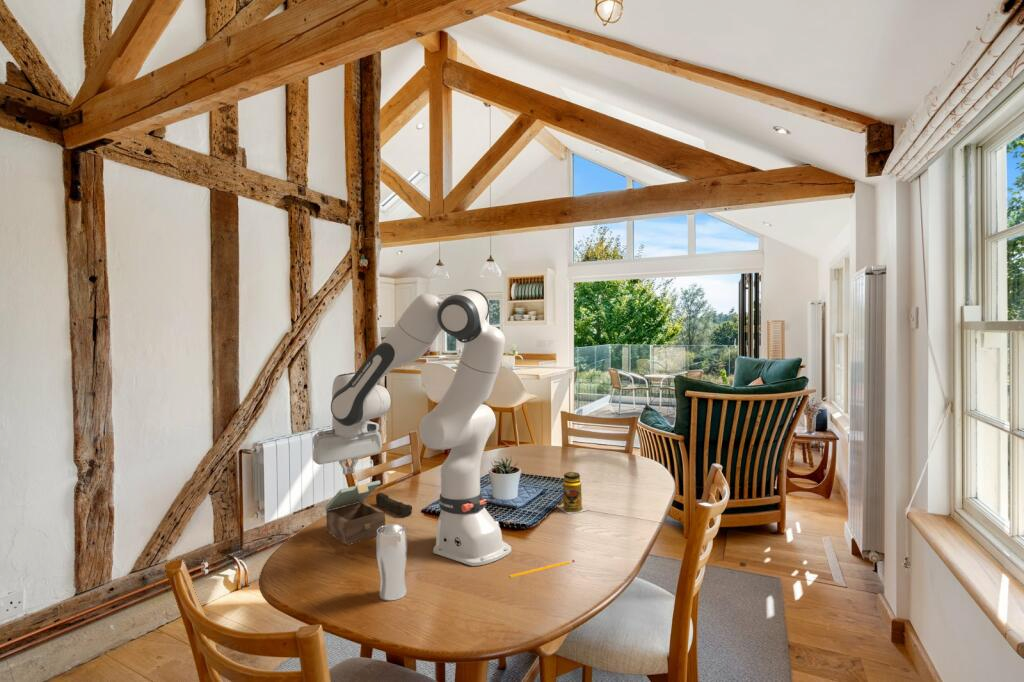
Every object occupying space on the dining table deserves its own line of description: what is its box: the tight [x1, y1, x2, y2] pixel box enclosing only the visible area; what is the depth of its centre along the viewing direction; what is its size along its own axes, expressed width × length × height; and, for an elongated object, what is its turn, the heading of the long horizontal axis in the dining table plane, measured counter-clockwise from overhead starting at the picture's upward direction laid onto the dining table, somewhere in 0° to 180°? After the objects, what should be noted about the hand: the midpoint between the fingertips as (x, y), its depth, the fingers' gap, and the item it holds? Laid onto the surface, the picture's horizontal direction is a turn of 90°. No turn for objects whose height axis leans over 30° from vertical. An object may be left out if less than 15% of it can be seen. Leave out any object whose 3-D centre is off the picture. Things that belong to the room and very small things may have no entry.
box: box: [325, 500, 386, 546], centre depth 151 cm, size 15×12×6 cm
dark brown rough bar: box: [375, 492, 413, 518], centre depth 171 cm, size 19×4×5 cm, turn 44°
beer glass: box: [375, 523, 408, 602], centre depth 115 cm, size 7×7×15 cm
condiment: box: [556, 471, 588, 515], centre depth 168 cm, size 7×8×12 cm
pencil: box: [508, 559, 576, 579], centre depth 126 cm, size 1×18×1 cm, turn 115°
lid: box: [324, 480, 381, 512], centre depth 152 cm, size 15×12×3 cm
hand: (348, 473), depth 149 cm, fingers closed
